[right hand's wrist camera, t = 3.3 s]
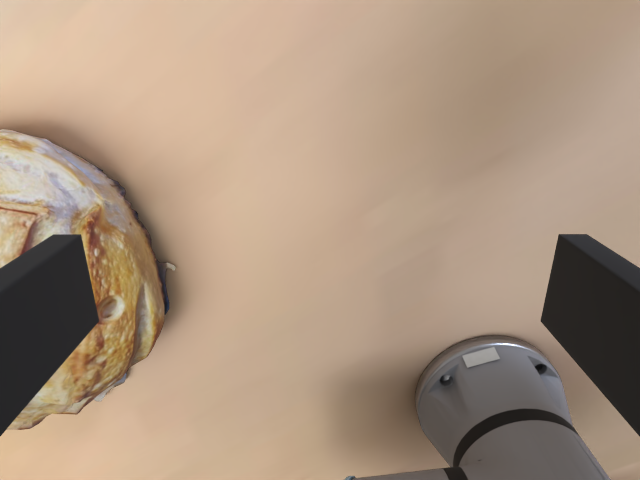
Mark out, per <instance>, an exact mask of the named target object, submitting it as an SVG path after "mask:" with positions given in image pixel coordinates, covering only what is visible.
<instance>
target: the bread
mask: <svg viewBox="0 0 640 480" xmlns="http://www.w3.org/2000/svg"><path fill="white" fill-rule="evenodd" d="M124 195H125V189H124V188H123V187H121V186H120V184H119V183H118V182H117V181H114V180H112V179H109V178H108V177H107V175H106V174H104V173H103V172H102V170H101V169H99V168H97V167H96V166H94V165H93V164H91V163H89V162H88V161H86V160H85V159H83V158H81V157H79V156H77V155H75V154H73V153H72V152H70V151H68V150H66V149H64V148H62V147H60V146H58V145H55V144H53V143H52V142H50V141H49V140H47V139H45V138H39V137H34V136H30V135H26V134H23V133H20V132H16V131H13V130H7V129H2V130H0V268H1V267H3V266H4V265H6V264H8V263H9V262H11V261H12V260H14V259H15V258H17V257H19V256H20V255H22V254H23V253H25V252H26V251H28V250H30V249H31V248H33V247H34V246H36V245H37V244H39V243H41V242H42V241H44V240H45V239H47V238H48V237H50V236H52V235H53V234H81V236H82V241H83V246H84V250H85V255H86V260H87V265H88V269H89V274H90V279H91V284H92V288H93V293H94V298H95V303H96V308H97V312H98V317H99V322H98V323H97V324H96V326H95V327H94V328H93V329H92V330H91V331H90V333H89V334H88V335H87V336H86V337H85V338H84V339H83V341H82V342H81V343H80V344H79V345H78V346H77V348H76V349H75V350H74V351H73V352H72V353H71V355H70V356H69V357H68V358H67V359H66V360H65V362H64V363H63V364H62V365H61V366H60V367H59V369H58V370H57V371H56V372H55V373H54V374H53V376H52V377H51V378H50V379H49V380H48V381H47V383H46V384H45V385H44V386H43V387H42V388H41V390H40V391H39V392H38V393H37V394H36V395H35V397H34V398H33V399H32V400H31V401H30V402H29V404H28V405H27V406H26V407H25V408H24V409H23V410H22V412H21V413H20V414H19V415H18V416H17V417H16V419H15V420H14V421H13V422H12V423H11V424H10V426H9V427H8V428H7V429H18V430H22V429H30V428H32V427H34V426H35V425H37V424H39V423H40V422H41V421H42V420H43V419H44V418H45V417H46V416H48V415H50V414H78V413H79V412H80V411H81V410H82V409H83V407H85V406H86V405H87V404H88V403H90V402H91V401H92V400H93V399H94V400H95V401H102V399H103V398H104V396H105V394H106V393H107V392H108V391H109V390H110V389H112V388H114V387H116V386H118V385H120V384H122V383H124V382H125V379H126V375H127V374H126V372H127V370H128V369H129V368H130V367H131V366H133V365H134V364H136V363H138V362H139V361H141V360H143V359H144V358H146V357H147V356H148V355H149V353H150V352H151V350H152V348H153V347H154V344H155V342H156V340H157V338H158V336H159V334H160V332H161V329H162V327H163V323H164V315H165V314H166V313H167V312H168V310H169V300H168V296H167V291H166V284H165V275H166V269H167V268H170V269H172V270H173V271H175V269H176V267H175V266H174V265H172V264H170V263H160V262H158V260H157V259H156V258H155V254H154V252H153V250H152V248H151V237H150V235H149V233H148V231H147V230H146V228H145V227H144V225H143V224H142V223H141V222H140V221H139V220H138V214H137V212H136V211H134V210H132V209H131V203H130V202H128V201H127V200H126V199H125V198H124ZM7 429H6V430H7Z"/></svg>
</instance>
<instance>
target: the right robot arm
mask: <svg viewBox="0 0 640 480" xmlns="http://www.w3.org/2000/svg"><path fill="white" fill-rule="evenodd" d="M98 322H99V317H98V312H97V308H96V303H95V298H94V293H93V288H92V284H91V279H90V274H89V269H88V265H87V260H86V255H85V250H84V246H83V241H82V236H81V234H53V235H52V236H50V237H48V238H47V239H45V240H44V241H42V242H41V243H39V244H37V245H36V246H34V247H33V248H31V249H30V250H28V251H26V252H25V253H23V254H22V255H20V256H19V257H17V258H15V259H14V260H12V261H11V262H9V263H8V264H6V265H4V266H3V267H1V268H0V436H1V435H2V434H3V433H4V431H5V430H6V429H7V428H8V427H9V426H10V424H11V423H12V422H13V421H14V420H15V419H16V417H17V416H18V415H19V414H20V413H21V412H22V410H23V409H24V408H25V407H26V406H27V405H28V404H29V402H30V401H31V400H32V399H33V398H34V397H35V395H36V394H37V393H38V392H39V391H40V390H41V388H42V387H43V386H44V385H45V384H46V383H47V381H48V380H49V379H50V378H51V377H52V376H53V374H54V373H55V372H56V371H57V370H58V369H59V367H60V366H61V365H62V364H63V363H64V362H65V360H66V359H67V358H68V357H69V356H70V355H71V353H72V352H73V351H74V350H75V349H76V348H77V346H78V345H79V344H80V343H81V342H82V341H83V339H84V338H85V337H86V336H87V335H88V334H89V333H90V331H91V330H92V329H93V328H94V327H95V326H96V324H97V323H98ZM541 322H542V323H543V324H544V326H545V327H546V328H547V329H548V330H549V331H550V333H551V334H552V335H553V336H554V337H555V338H556V339H557V341H558V342H559V343H560V344H561V345H562V346H563V348H564V349H565V350H566V351H567V352H568V353H569V355H570V356H571V357H572V358H573V359H574V360H575V362H576V363H577V364H578V365H579V366H580V367H581V369H582V370H583V371H584V372H585V373H586V374H587V376H588V377H589V378H590V379H591V380H592V381H593V383H594V384H595V385H596V386H597V387H598V388H599V390H600V391H601V392H602V393H603V394H604V395H605V397H606V398H607V399H608V400H609V401H610V402H611V404H612V405H613V406H614V407H615V408H616V409H617V410H618V412H619V413H620V414H621V415H622V416H623V417H624V419H625V420H626V421H627V422H628V423H629V424H630V426H631V427H632V428H633V429H634V430H635V431H636V433H637V434H638V435H639V436H640V268H639V267H637V266H636V265H634V264H632V263H631V262H629V261H628V260H626V259H625V258H623V257H621V256H620V255H618V254H617V253H615V252H614V251H612V250H610V249H609V248H607V247H606V246H604V245H603V244H601V243H599V242H598V241H596V240H595V239H593V238H592V237H590V236H588V235H587V234H559V236H558V241H557V246H556V250H555V255H554V260H553V265H552V269H551V274H550V279H549V284H548V288H547V293H546V298H545V303H544V308H543V312H542V317H541ZM415 405H416V410H417V414H418V418H419V421H420V425H421V427H422V430H423V431H424V433H425V435H426V436H427V438H428V439H429V440H430V441H431V443H432V444H433V445H434V446H435V448H436V449H437V450H438V452H439V453H440V454H441V455H442V457H443V458H444V459H445V461H446V462H447V463H448V464H449V466H450V468H441V469H432V470H423V471H415V472H406V473H397V474H388V475H380V476H371V477H362V478H355V476H348V477H347V478H346V479H345V480H610V478H609V477H608V475H607V474H606V473H605V471H604V470H603V468H602V467H601V465H600V464H599V463H598V461H597V460H596V458H595V457H594V456H593V454H592V453H591V451H590V450H589V449H588V447H587V446H586V444H585V443H584V441H583V440H582V439H581V437H580V436H579V435H578V433H577V432H576V430H575V429H574V427H573V425H572V421H571V417H570V413H569V409H568V405H567V401H566V397H565V393H564V389H563V385H562V381H561V379H560V376H559V374H558V373H557V371H556V370H555V368H554V367H553V366H552V364H551V363H550V362H549V360H548V359H547V358H546V357H545V355H544V354H543V353H542V352H541V351H539V350H538V349H537V348H535V347H534V346H532V345H531V344H529V343H527V342H524V341H522V340H519V339H516V338H512V337H506V336H484V337H477V338H473V339H469V340H466V341H463V342H461V343H458V344H456V345H454V346H452V347H450V348H448V349H447V350H445V351H444V352H442V353H441V354H440V355H438V356H437V357H436V358H435V359H434V360H433V361H432V362H431V363H430V364H429V365H428V367H427V368H426V369H425V370H424V372H423V374H422V375H421V377H420V379H419V382H418V385H417V388H416V393H415Z"/></svg>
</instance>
